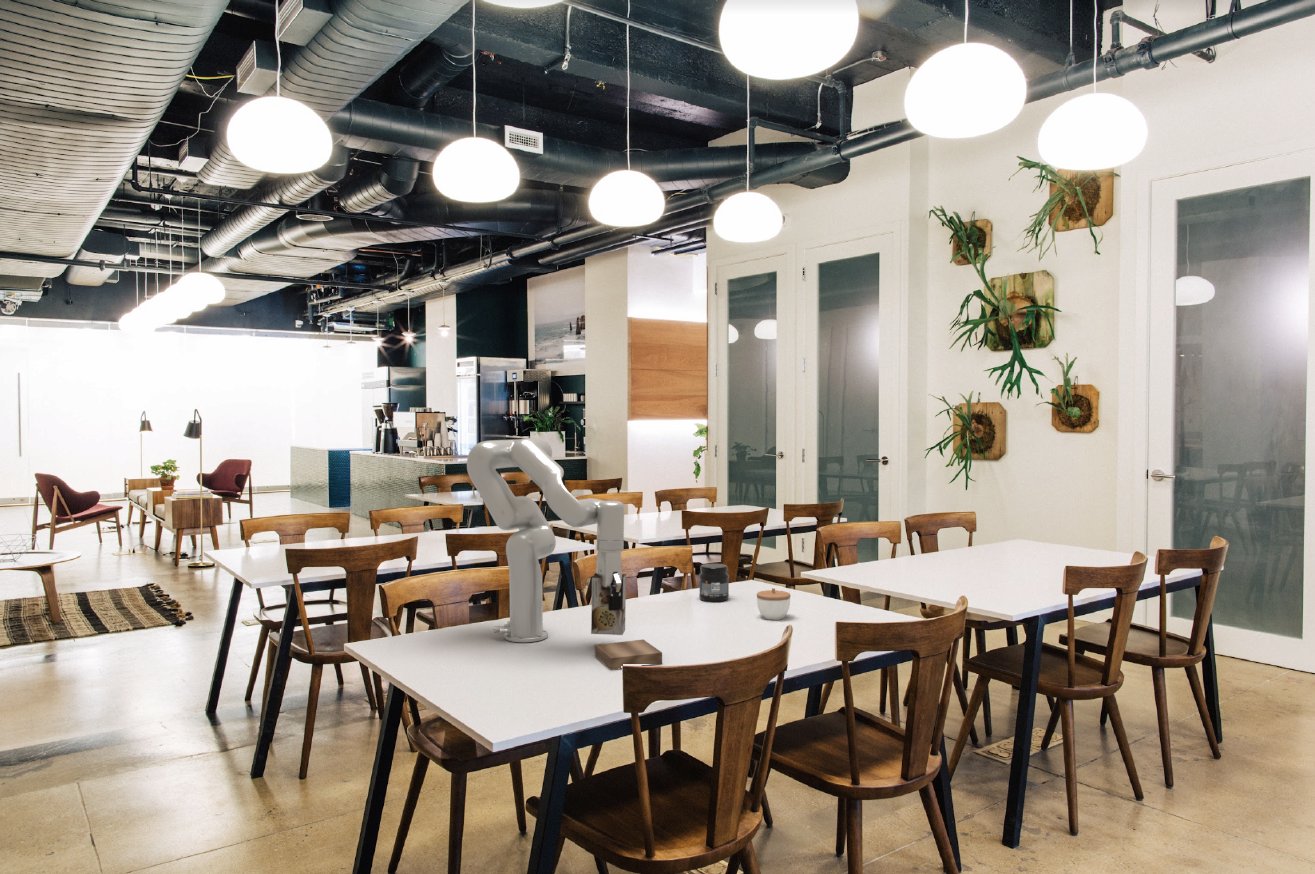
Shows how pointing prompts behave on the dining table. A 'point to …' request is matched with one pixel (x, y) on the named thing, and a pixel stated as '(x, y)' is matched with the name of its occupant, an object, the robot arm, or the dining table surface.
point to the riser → (627, 653)
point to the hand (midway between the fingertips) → (608, 606)
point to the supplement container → (714, 583)
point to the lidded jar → (773, 603)
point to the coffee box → (601, 615)
